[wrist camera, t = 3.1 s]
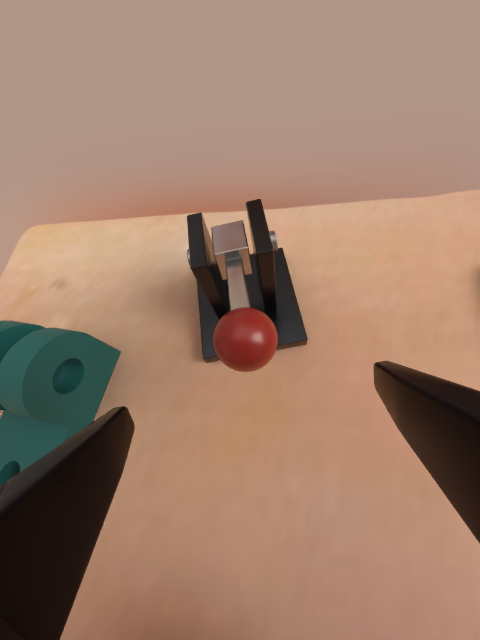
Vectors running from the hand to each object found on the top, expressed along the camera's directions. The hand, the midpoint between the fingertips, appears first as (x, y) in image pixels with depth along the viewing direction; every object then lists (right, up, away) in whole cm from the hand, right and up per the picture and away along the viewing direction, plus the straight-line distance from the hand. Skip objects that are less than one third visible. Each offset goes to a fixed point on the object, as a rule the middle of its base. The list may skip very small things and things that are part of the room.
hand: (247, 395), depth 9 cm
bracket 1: (-17, -8, +13) cm, 23 cm away
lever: (0, +4, +8) cm, 8 cm away
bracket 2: (0, +4, +15) cm, 16 cm away
